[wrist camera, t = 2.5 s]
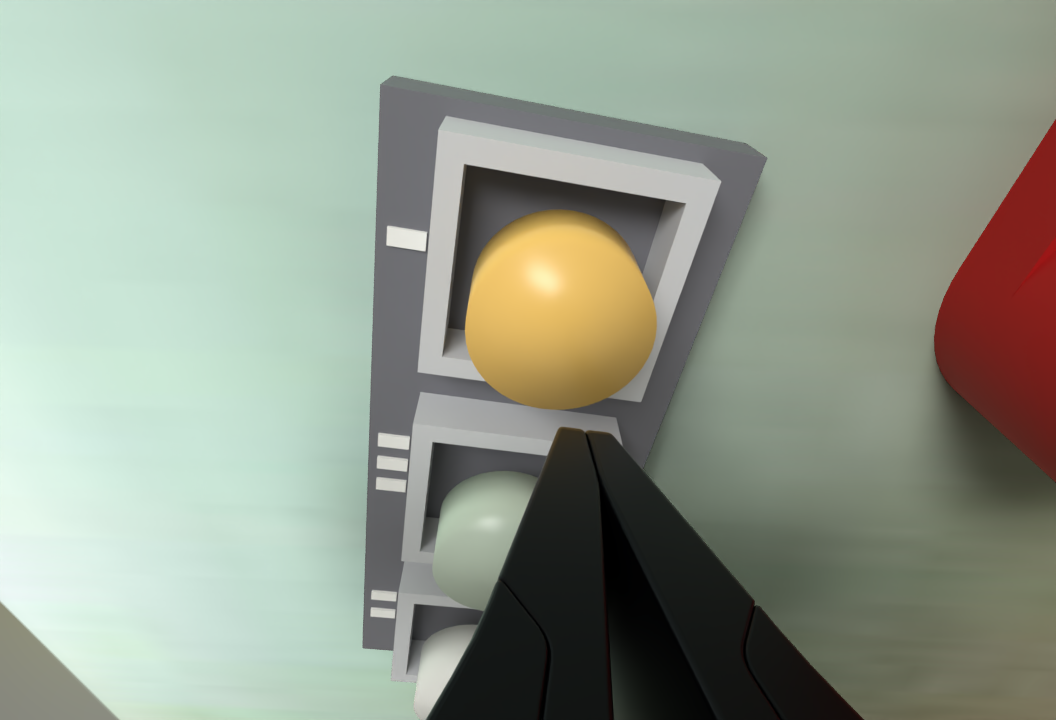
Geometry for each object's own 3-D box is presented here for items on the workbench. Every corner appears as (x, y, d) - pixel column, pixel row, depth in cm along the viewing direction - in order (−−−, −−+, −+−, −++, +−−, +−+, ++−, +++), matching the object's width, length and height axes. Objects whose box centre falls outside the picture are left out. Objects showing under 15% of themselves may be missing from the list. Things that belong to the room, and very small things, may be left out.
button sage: (553, 562, 19) (556, 618, 17) (434, 551, 19) (426, 606, 17) (580, 479, 17) (587, 533, 15) (446, 463, 16) (438, 517, 15)
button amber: (614, 371, 15) (627, 419, 13) (462, 349, 14) (455, 397, 13) (661, 225, 13) (683, 261, 11) (483, 194, 12) (477, 228, 10)
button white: (514, 683, 23) (514, 737, 22) (417, 676, 23) (410, 730, 21) (532, 629, 21) (533, 684, 20) (425, 620, 21) (417, 675, 19)
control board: (562, 633, 27) (567, 698, 25) (369, 616, 26) (354, 682, 24) (746, 143, 15) (792, 175, 12) (392, 75, 14) (365, 95, 11)
